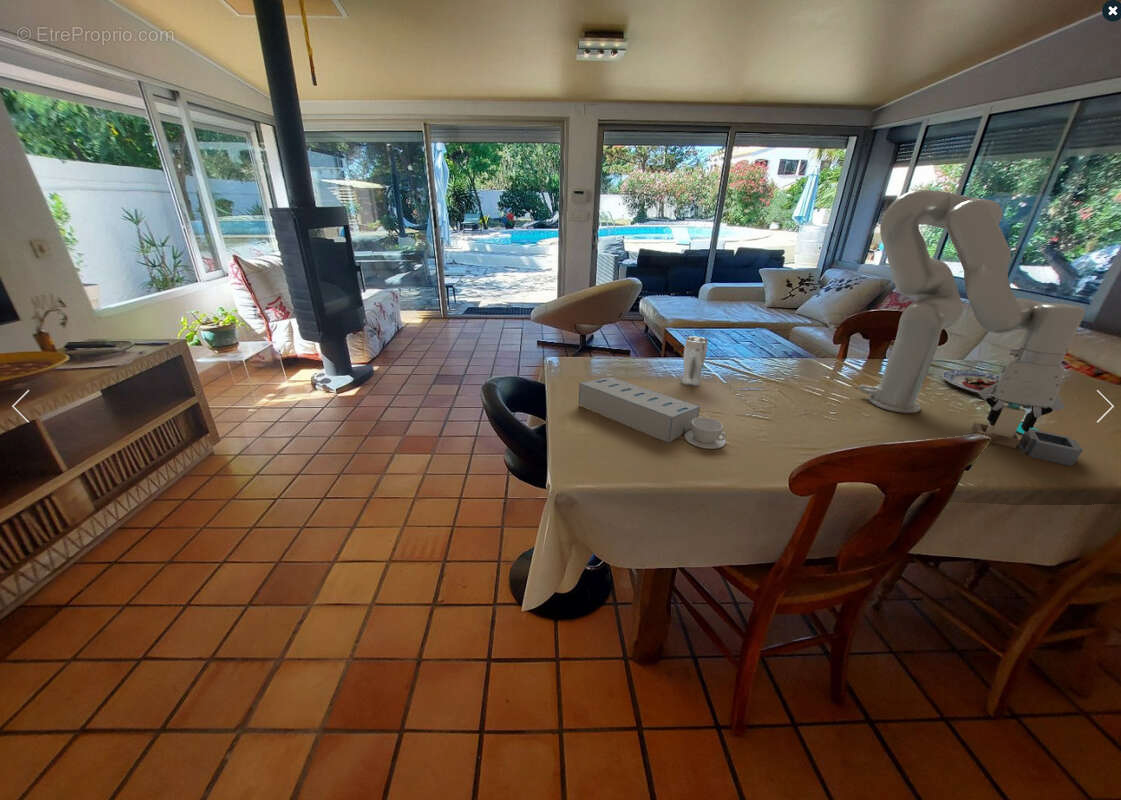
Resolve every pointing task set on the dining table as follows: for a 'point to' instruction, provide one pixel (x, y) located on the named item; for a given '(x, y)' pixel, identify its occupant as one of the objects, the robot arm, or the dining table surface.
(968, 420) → the dining table surface
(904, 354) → the robot arm
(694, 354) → the beer glass
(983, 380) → the ceramic plate
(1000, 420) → the plug
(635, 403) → the slotted grey box
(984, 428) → the holster
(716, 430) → the teacup
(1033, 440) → the socket
